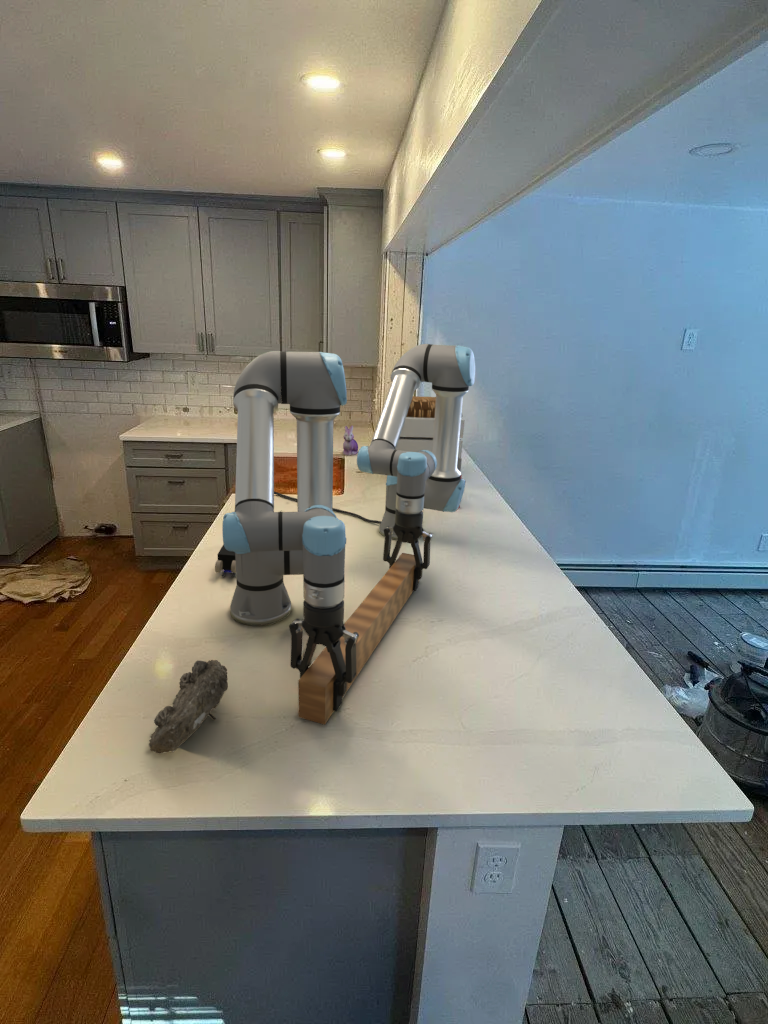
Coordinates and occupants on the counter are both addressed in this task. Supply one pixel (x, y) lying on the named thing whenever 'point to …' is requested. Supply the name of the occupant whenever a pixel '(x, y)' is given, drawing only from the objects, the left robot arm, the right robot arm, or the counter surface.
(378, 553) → the counter surface
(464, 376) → the right robot arm
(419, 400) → the grey wooden crate
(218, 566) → the black toy vehicle
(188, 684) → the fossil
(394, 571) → the post
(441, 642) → the counter surface
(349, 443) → the figurine
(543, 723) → the counter surface
